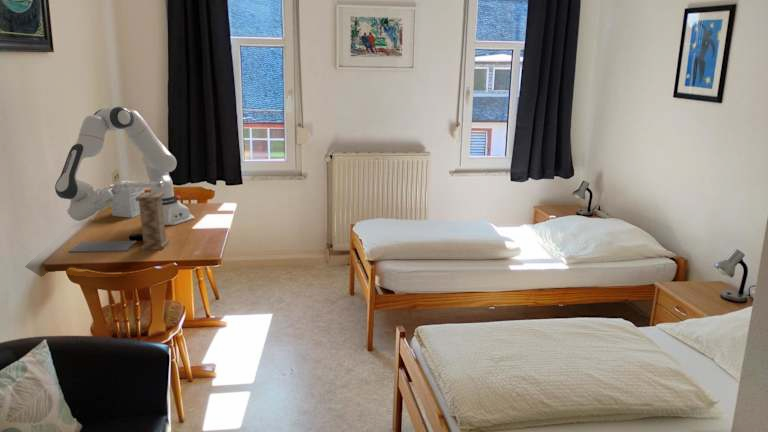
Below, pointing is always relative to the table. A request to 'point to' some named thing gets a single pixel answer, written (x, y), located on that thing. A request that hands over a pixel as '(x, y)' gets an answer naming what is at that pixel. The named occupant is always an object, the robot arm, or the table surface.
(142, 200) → the walnut stand
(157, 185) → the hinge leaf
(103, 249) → the rubber mat
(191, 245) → the table surface
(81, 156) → the robot arm
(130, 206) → the supplement box
